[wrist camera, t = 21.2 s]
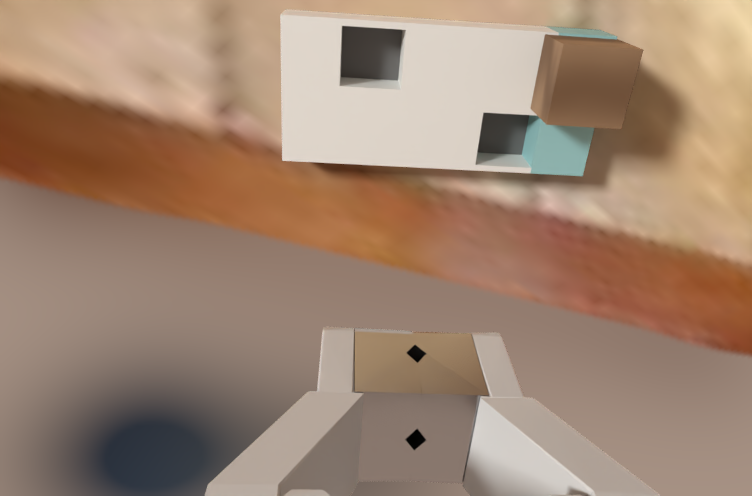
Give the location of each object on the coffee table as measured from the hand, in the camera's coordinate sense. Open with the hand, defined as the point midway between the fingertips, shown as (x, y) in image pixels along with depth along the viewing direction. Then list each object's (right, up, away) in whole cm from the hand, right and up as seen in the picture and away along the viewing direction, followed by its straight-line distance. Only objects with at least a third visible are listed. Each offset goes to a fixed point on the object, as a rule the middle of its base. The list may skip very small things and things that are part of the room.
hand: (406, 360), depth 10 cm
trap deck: (+3, +11, +25) cm, 27 cm away
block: (+10, +11, +22) cm, 27 cm away
